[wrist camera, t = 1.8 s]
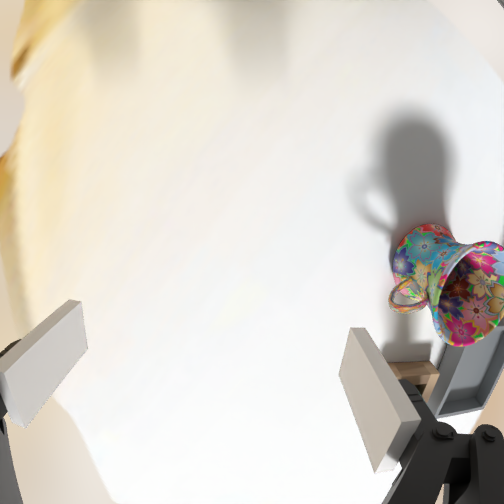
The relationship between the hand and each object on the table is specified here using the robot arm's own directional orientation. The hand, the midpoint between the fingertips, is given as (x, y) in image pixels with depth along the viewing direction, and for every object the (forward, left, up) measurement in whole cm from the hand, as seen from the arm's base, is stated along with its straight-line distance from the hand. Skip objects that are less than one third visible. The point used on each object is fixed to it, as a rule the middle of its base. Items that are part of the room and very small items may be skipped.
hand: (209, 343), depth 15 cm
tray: (+13, +33, -17) cm, 39 cm away
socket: (+16, +22, -17) cm, 32 cm away
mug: (0, +19, -18) cm, 26 cm away
